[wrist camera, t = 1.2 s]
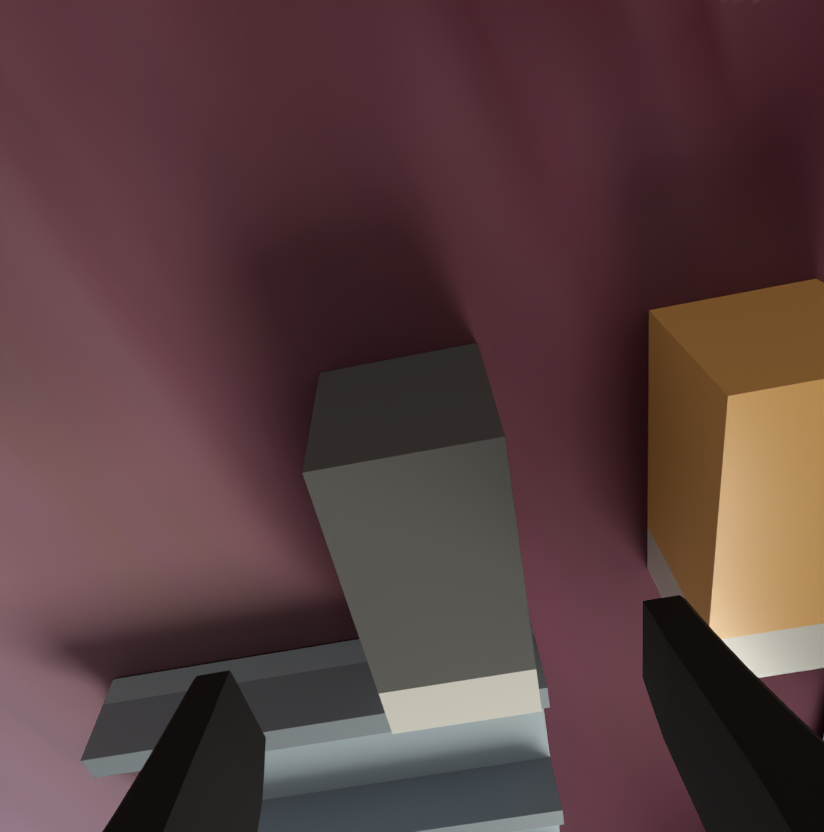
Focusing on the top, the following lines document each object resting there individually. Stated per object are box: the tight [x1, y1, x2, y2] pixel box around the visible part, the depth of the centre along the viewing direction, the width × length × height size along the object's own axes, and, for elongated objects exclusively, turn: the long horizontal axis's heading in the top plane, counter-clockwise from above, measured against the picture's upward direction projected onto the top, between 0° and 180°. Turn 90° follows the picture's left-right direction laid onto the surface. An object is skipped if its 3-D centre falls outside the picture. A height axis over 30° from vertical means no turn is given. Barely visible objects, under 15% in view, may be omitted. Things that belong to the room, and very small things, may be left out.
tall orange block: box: [647, 279, 824, 678], centre depth 14 cm, size 8×3×4 cm, turn 11°
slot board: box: [81, 618, 564, 832], centre depth 20 cm, size 12×12×2 cm
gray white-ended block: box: [302, 343, 542, 734], centre depth 14 cm, size 8×3×4 cm, turn 11°
